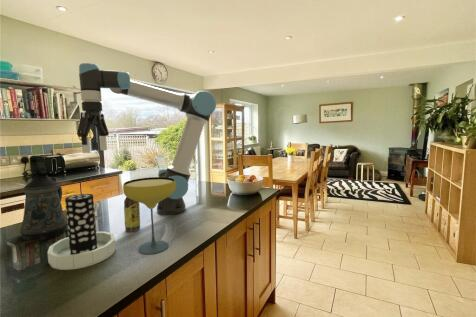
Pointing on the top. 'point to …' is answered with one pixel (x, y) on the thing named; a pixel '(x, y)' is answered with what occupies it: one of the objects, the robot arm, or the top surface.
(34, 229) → the beer stein
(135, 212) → the sauce bottle
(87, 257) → the bowl
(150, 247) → the cocktail glass
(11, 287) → the top surface
